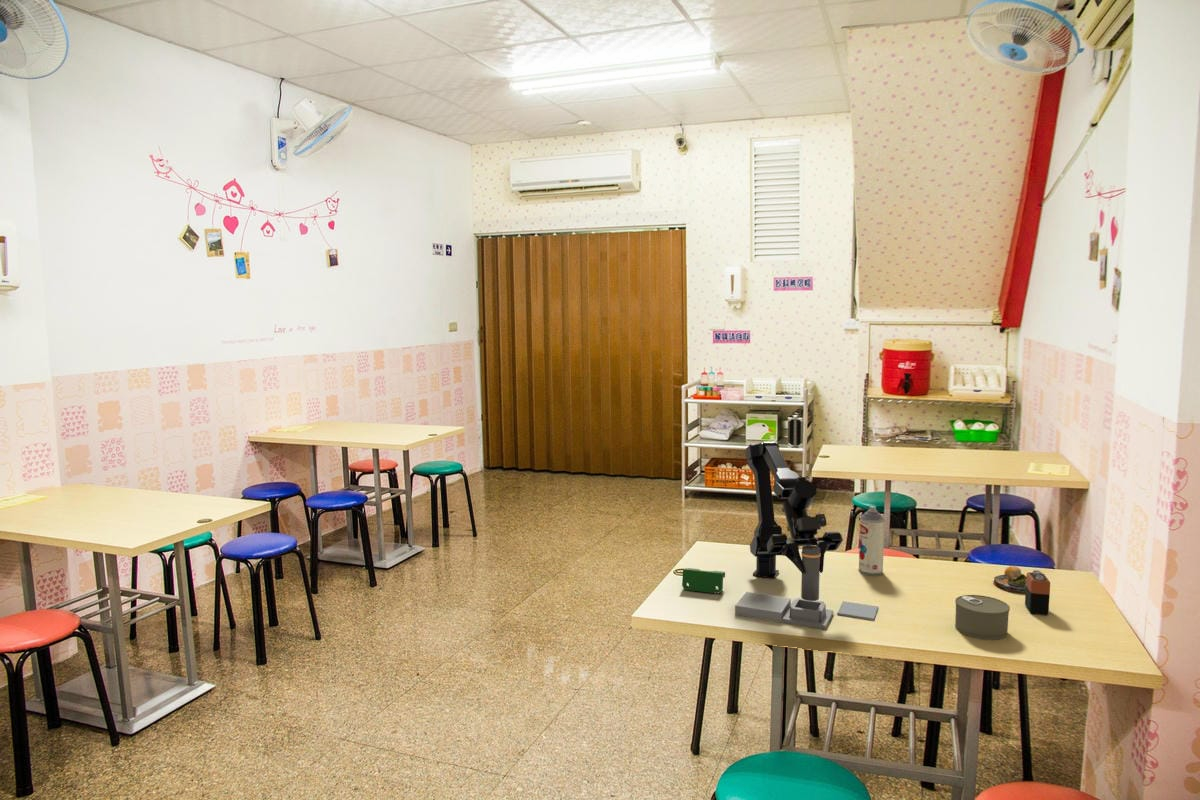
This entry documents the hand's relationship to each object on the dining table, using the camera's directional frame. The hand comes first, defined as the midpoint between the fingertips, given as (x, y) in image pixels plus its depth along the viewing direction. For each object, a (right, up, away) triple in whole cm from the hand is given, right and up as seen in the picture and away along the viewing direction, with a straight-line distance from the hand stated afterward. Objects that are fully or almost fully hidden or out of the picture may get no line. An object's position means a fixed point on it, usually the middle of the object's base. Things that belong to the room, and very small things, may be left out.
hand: (812, 572), depth 200 cm
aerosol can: (+28, -8, +38) cm, 47 cm away
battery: (+60, -12, +7) cm, 62 cm away
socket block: (-6, -12, +5) cm, 14 cm away
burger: (+64, -10, +24) cm, 70 cm away
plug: (0, -7, +2) cm, 7 cm away
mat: (+14, -12, +7) cm, 19 cm away
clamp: (-24, -10, +25) cm, 36 cm away
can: (+40, -13, -6) cm, 42 cm away
